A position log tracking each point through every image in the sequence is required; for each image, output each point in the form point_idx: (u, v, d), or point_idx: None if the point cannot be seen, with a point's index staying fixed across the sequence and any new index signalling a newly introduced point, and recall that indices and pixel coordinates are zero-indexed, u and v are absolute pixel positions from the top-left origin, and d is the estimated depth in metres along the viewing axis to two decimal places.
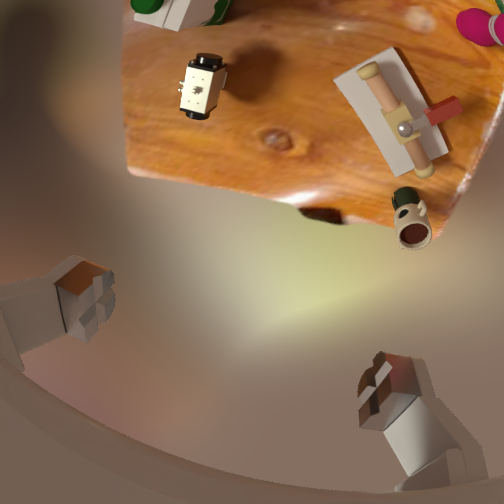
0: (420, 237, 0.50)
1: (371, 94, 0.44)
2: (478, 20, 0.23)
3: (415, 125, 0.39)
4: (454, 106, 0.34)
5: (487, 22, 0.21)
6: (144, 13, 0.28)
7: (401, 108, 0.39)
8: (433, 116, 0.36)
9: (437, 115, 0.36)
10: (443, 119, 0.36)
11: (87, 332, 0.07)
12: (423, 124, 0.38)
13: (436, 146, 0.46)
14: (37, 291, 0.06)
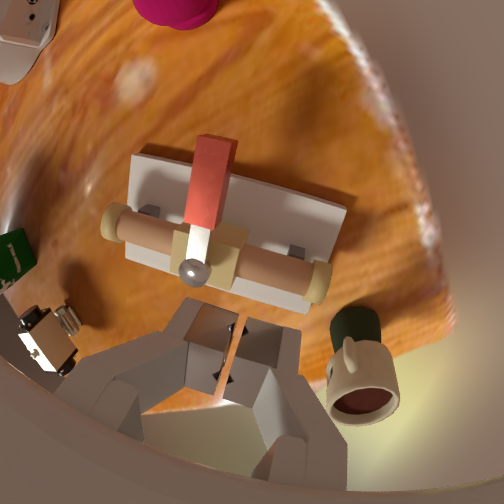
0: (383, 395, 0.24)
1: None
2: None
3: (196, 253, 0.23)
4: (207, 155, 0.19)
5: None
6: None
7: (174, 239, 0.26)
8: (197, 213, 0.21)
9: (200, 204, 0.21)
10: (216, 199, 0.21)
11: (216, 384, 0.07)
12: (204, 239, 0.23)
13: (318, 222, 0.29)
14: (168, 352, 0.06)
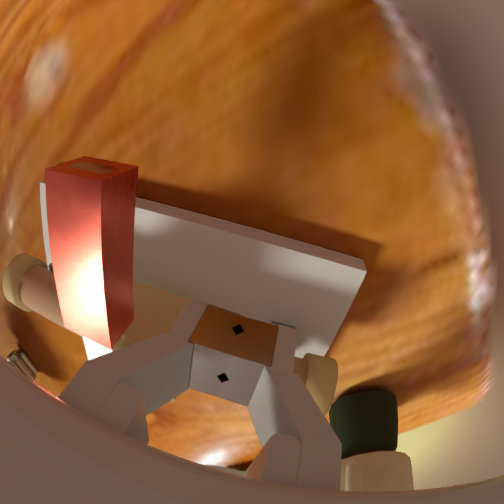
0: None
1: None
2: None
3: None
4: (65, 212, 0.08)
5: None
6: None
7: None
8: (78, 318, 0.10)
9: (78, 304, 0.09)
10: (99, 300, 0.09)
11: None
12: (107, 352, 0.11)
13: (317, 290, 0.17)
14: (174, 354, 0.06)
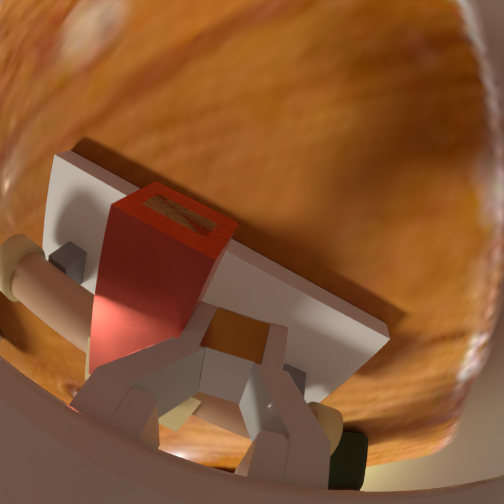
0: None
1: None
2: None
3: None
4: (135, 273, 0.06)
5: None
6: None
7: None
8: None
9: None
10: None
11: None
12: None
13: (339, 346, 0.17)
14: (185, 358, 0.06)
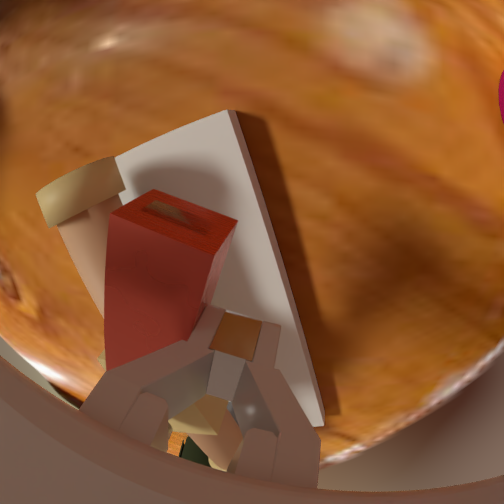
0: None
1: None
2: None
3: None
4: (140, 278, 0.06)
5: None
6: None
7: None
8: None
9: None
10: None
11: None
12: None
13: None
14: (195, 362, 0.06)
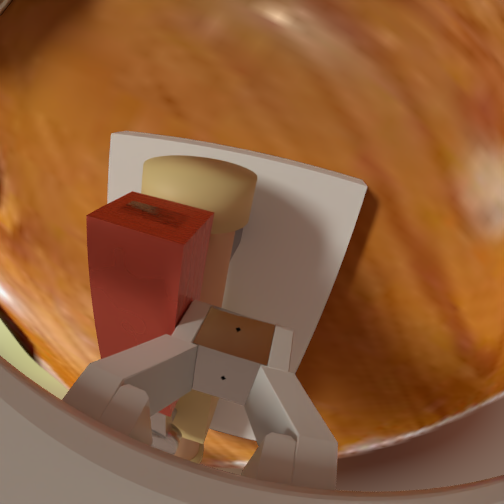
0: None
1: None
2: None
3: None
4: (120, 276, 0.06)
5: None
6: None
7: None
8: None
9: None
10: None
11: None
12: (157, 412, 0.10)
13: (242, 425, 0.22)
14: (178, 355, 0.06)
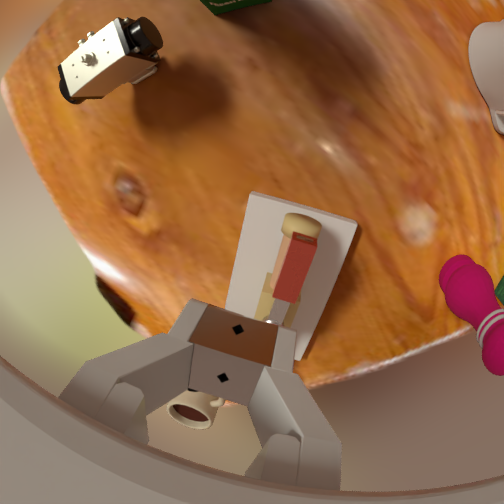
0: (195, 417, 0.39)
1: (275, 247, 0.36)
2: (481, 291, 0.26)
3: (277, 316, 0.31)
4: (297, 254, 0.27)
5: (489, 306, 0.24)
6: None
7: None
8: (284, 292, 0.29)
9: (287, 286, 0.29)
10: (300, 283, 0.28)
11: None
12: (285, 307, 0.30)
13: None
14: (173, 354, 0.06)
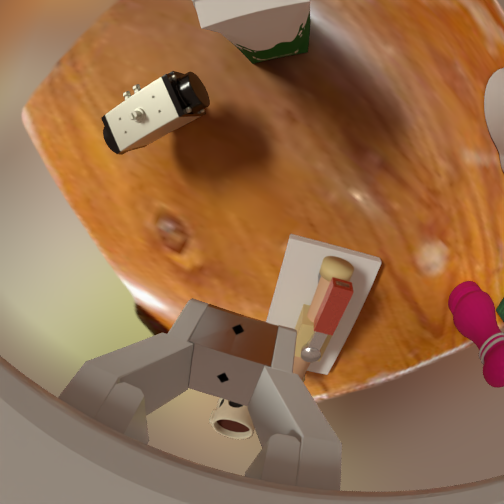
0: (236, 429, 0.44)
1: (310, 282, 0.41)
2: (484, 316, 0.31)
3: (316, 344, 0.35)
4: (337, 297, 0.31)
5: (490, 330, 0.28)
6: None
7: None
8: (324, 326, 0.33)
9: (327, 322, 0.33)
10: (337, 320, 0.33)
11: None
12: (323, 338, 0.35)
13: (320, 364, 0.47)
14: (174, 354, 0.06)
